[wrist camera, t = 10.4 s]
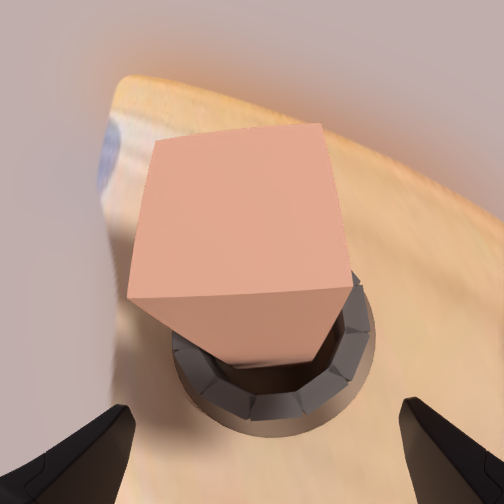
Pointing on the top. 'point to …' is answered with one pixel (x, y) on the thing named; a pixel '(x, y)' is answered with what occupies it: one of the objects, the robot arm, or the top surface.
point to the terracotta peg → (243, 244)
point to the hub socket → (284, 379)
